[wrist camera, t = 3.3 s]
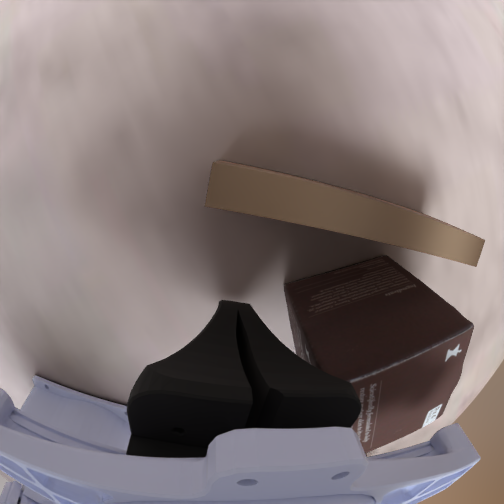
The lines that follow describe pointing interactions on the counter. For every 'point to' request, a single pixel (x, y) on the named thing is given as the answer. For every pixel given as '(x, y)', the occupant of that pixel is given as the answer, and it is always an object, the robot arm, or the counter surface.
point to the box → (381, 343)
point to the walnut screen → (335, 211)
